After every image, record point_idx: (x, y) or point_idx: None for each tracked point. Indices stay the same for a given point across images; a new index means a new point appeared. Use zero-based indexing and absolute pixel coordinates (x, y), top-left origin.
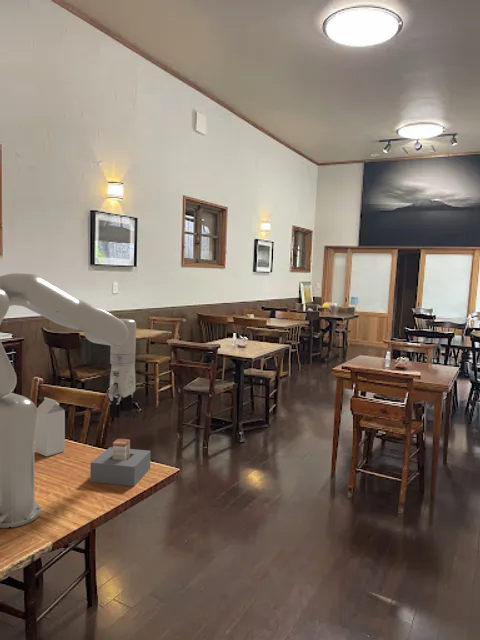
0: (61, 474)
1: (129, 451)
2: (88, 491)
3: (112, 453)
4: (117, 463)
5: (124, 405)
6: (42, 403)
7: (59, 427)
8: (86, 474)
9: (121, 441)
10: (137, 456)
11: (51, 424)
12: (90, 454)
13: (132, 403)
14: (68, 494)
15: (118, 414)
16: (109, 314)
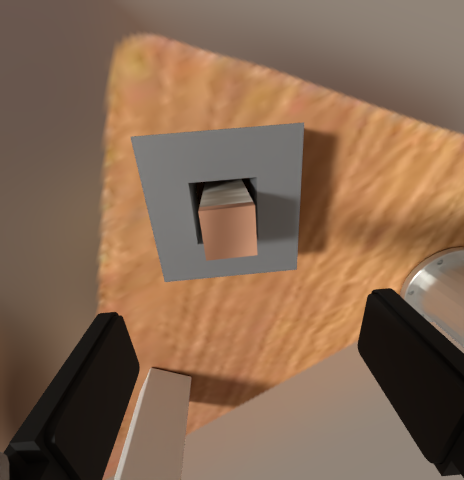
0: (260, 313)
1: (205, 197)
2: (331, 222)
3: None
4: (286, 196)
5: (124, 386)
6: None
7: (148, 434)
8: None
9: (233, 233)
10: (206, 160)
11: (169, 454)
12: (138, 321)
13: (69, 357)
14: (350, 252)
15: (404, 310)
16: None
